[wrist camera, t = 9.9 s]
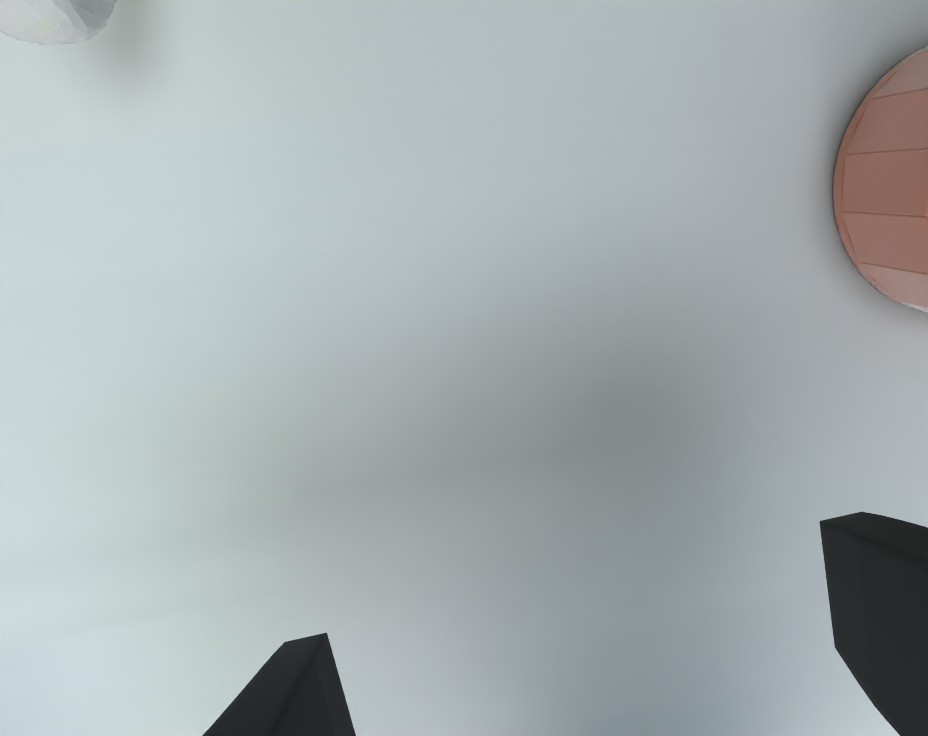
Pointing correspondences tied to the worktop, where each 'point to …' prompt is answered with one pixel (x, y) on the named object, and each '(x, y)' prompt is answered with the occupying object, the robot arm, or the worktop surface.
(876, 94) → the pot
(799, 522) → the worktop surface
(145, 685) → the worktop surface
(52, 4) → the teacup
